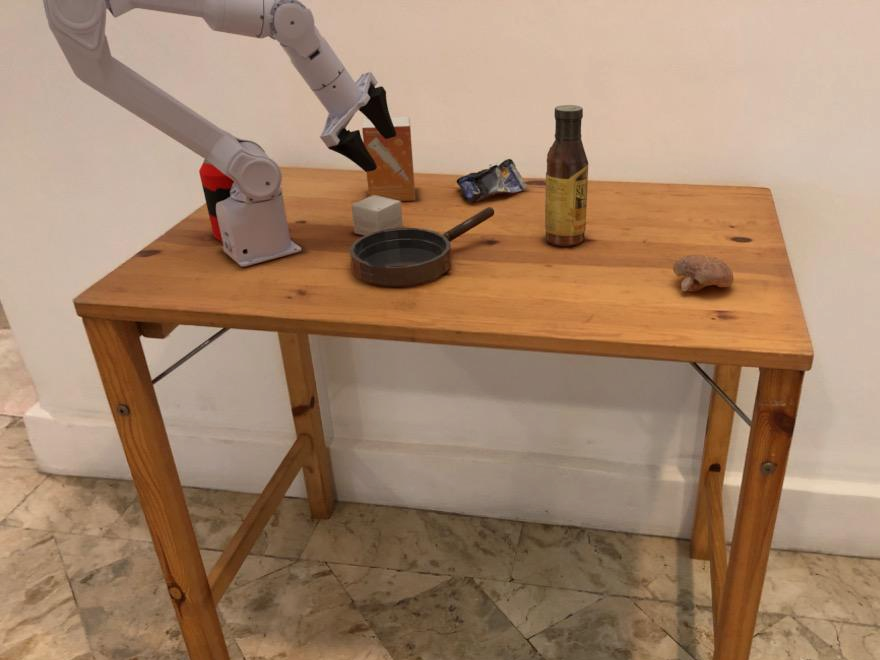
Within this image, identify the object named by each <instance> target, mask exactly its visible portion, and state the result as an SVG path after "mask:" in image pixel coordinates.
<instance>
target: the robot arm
mask: <svg viewBox="0 0 880 660" xmlns="http://www.w3.org/2000/svg"><path fill="white" fill-rule="evenodd" d="M42 2H43V7H44V14H45V17H46V20H47V24H48V28H49V29H50V31H51V33H52V35H53V37H54V38H55V40H56V42H57V44H58V46H59V48H60V49H61V51H62V53H63V55H64V57H65V59H66V61H67V63H68V64H69V66H70V68H71V70H72V72H73V74H74V75H75V77H76V78H77V79H78V80H80V81H81V82H82V83H84V84H85V85H87V86H89V87H90V88H92V89H94V91H97V92H98V93H99V94H101V95H103V96H104V97H106V98H108V99H109V100H111V101H112V102H113V103H115V104H117V105H119V106H120V107H122V108H123V109H125V110H126V111H128V112H130V113H132V114H133V115H134V116H136V117H138V118H139V119H141V120H142V121H144V122H146V123H147V124H148V125H151V126H152V127H154V128H155V129H157V130H158V131H160V132H161V133H163V134H165V135H166V136H168V137H170V138H171V139H172V140H174V141H175V142H178V143H179V144H180V145H182V146H184V147H185V148H187V149H188V150H190V151H192V152H193V153H195V154H196V155H198V156H199V157H201V158H203V160H205V159H206V160H207V161H209V162H210V163H211V164H212V165H214V166H215V167H216V168H217V169H218V170H220V171H221V172H222V173H223V174H225V175H226V176H228V177H230V178H231V179H232V180H233V181H234V183H233V185H232V188H231V190H230V194H231V196H230V197H229V198H227V199H226V200H223V201H220V202H218V203H217V204H216V214H217V219H218V223H219V228H220V232H221V237H222V241H223V242H222V245H223V247H222V251H223V252H224V253H225V254H226V255H228V256H229V258H231V259H232V260H233V261H234V262H235V263H237V265H239V267H241V268H244V267H245V268H246V267H249V266H252V265H256V264H259V263H263V262H268V261H271V260H275V259H278V258H279V259H280V258H282V257H286V256H289V255H292V254H293V255H294V254H297V253H301V252H302V251H303V249H302V247H301V246H299V245H298V244H297V243H296V242H294V241H293V240H291V236H290V230H289V224H288V220H287V219H288V217H287V211H286V206H285V200H284V195H283V190H282V188H283V187H282V186H281V185H282V182H283V174H282V171H281V168H280V166H279V165H278V163H277V162H276V161H275V160H274V159H273V158H272V157H270V156H269V155H268V154H267V153H266V151H265V150H264V148H263V147H262V146H261V145H260V144H258V143H257V142H255V141H253V140H250V139H244V138H243V139H242V138H239V137H236V136H235V135H233V134H232V133H230V132H228V130H227V131H226V130H224V129H222V128H221V127H219V126H217V125H216V124H215V123H213V122H211V121H210V120H208V119H207V118H205V117H204V116H202V115H201V114H199V112H196V111H195V110H193V109H192V108H190V107H189V106H187V105H186V104H184V103H183V102H182V101H180V100H178V99H177V98H175V97H174V96H172V95H171V94H170V93H167V92H166V91H165V90H164V89H162V88H160V87H159V86H157V85H156V84H154V83H153V82H151V81H150V80H148V79H147V78H146V77H144V76H142V75H141V74H139V73H138V72H136V71H135V70H134V69H132V68H130V67H129V66H127V65H126V64H124V63H123V62H121V61H120V60H118V59H117V58H116V57H114V56H112V53H111V49H110V44H109V41H108V38H107V35H106V25H107V10H108V12H110V14H111V15H112V16H113V18H114V19H115V18H118V17H120V16H123V15H125V14H127V13H128V12H130V11H132V10H135V9H141V10H146V11H147V10H148V11H155V12H161V13H168V14H174V15H182V16H189V17H196V18H202V19H203V21H204V22H205V23H206V25H207V26H208V27H209V28H210V30H212V31H215V32H220V33H226V34H231V35H237V36H241V37H242V36H243V37H249V38H254V39H261V40H262V39H265V38H267V37H269V38H270V39H272V40H274V41H277V42H278V43H279V46H280V47H281V48H282V50H283V51H284V52H285V54H286V55H287V56H288V58H289V60H290V63H291V64H292V66H293V67H294V68H295V70H296V71H297V72H298V73H299V74H298V75H300V76H301V78H302V79H303V80H304V82H305V83H306V84H307V86H308V87H309V89H310V90H311V91H312V93H313V94H314V96H315V97H316V99H318V100H319V102H320V103H321V105H322V106H323V107H324V109H325V111H327V113H328V115H327V117H326V121H325V124H324V127H323V130H322V132H321V134H320V136H319V138H320V139H321V141H322V142H323V143H324V145H325V146H326V147H327V149H328V150H330V151H333V152H336V153H338V154H340V155H342V156H343V157H344V158H345V157H346V158H347V159H348V160H350V161H351V162H353V163H354V164H355V165H356V166H358V167H359V168H360V169H361V170H363V172H365V173H366V172H369V171H373V170H376V168H377V165H376V163H375V161H374V160H373V158H372V157H371V155H370V154H369V152H368V151H367V149H366V147H365V145H364V143H363V137H362V135H361V130H360V129H356V130H351V131H350V129H347V127H348V125H349V123H350V122H351V121H352V119H353V118H354V116H355V114H356V113H357V112H358V111H359V112H360V113H361V114H363V115H364V116H365V117H366V118H368V119H369V120H370V121H371V123H372V124H373V125H374V126H375V128H376V129H377V130H378V132H379V133H380V134H381V135H382V136H383V137H384V138H385V139H388V138H392V137H395V136H396V135H397V134H396V131H395V128H394V125H393V123H392V120H391V117H392V116H391V115H390V111H389V106H388V102H387V100H388V99H387V91H386V89H385V87H384V86H383V85H382V86H377V84H378V83H379V81H378V79H376V77H375V76H374V74H373V73H372V71H368V72H365V73H361V75H359V77H358V78H357V80H356V81H355V80H354V78H353V77H352V75H351V74H350V73H349V71H348V70H347V69H346V67H345V65H344V64H343V62H342V60H341V59H340V58H339V57H338V55H337V54H336V52H335V51H334V49H333V48H332V46H331V45H330V44H329V42H328V41H327V39H326V37H324V36H322V34H321V33H320V31H319V29H318V27H317V26H316V25H315V18H314V15H313V13H312V10H311V9H310V8H307V6H306V5H305V4H303V3H302V2H301V1H299V0H42ZM376 86H377V87H376Z"/></svg>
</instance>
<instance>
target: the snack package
mask: <svg viewBox="0 0 880 660" xmlns="http://www.w3.org/2000/svg"><path fill="white" fill-rule="evenodd" d="M488 166H489V167H488V168H484V169H481V170H478V171H477V172H470V173H469V174H466V175H464V176H461V177H458V178H457V179H456V184H457V185H458V186H459V188H460V191H461V194H462V196H463V199H464V200H465V201H468V202H469V203H470V204H474V203H476V202H477V201H481V200H484V199H487V198H490V197H492V196H493V195H496V194H498V195H499V194H515V193H518V192H521V191H524V190H525V189H526V188H527V182H526V183H525V181H524V179H523V176H522V175H521V172H520V171H519V170H518V169H517V165H516V164H515V162H514V161H513V159H511V158H508V159H505V160H503V161H502V162H501V163H499V164H494V165H492V163H491V164H489V165H488Z"/></svg>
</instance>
